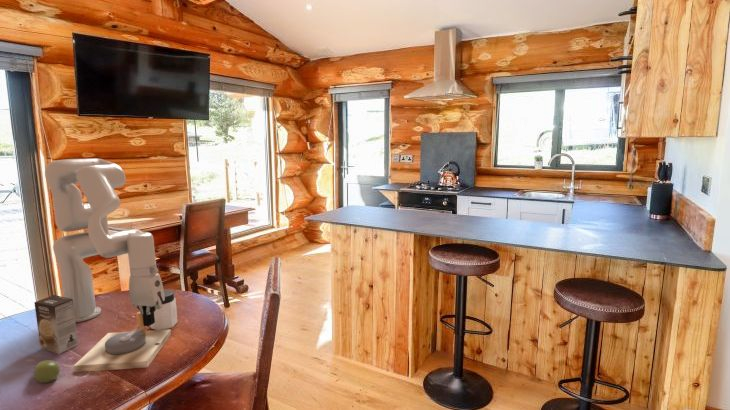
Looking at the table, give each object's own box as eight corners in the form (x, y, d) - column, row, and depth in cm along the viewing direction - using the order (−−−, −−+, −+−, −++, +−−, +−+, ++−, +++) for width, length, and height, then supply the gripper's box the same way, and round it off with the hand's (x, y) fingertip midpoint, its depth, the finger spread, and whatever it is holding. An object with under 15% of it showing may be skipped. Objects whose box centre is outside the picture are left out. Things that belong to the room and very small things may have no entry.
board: (74, 372, 117) (73, 364, 117) (108, 338, 137) (108, 332, 136) (147, 367, 119) (146, 360, 119) (171, 334, 139) (170, 328, 139)
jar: (151, 333, 140) (148, 300, 138) (148, 324, 147) (145, 292, 145) (179, 326, 145) (176, 294, 143) (175, 318, 152) (173, 287, 150)
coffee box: (39, 349, 130) (32, 302, 127) (60, 340, 136) (53, 294, 133) (59, 354, 127) (52, 305, 124) (79, 344, 133) (73, 298, 130)
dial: (130, 355, 122) (128, 332, 121) (96, 353, 123) (94, 331, 122) (160, 332, 136) (158, 311, 135) (129, 330, 137) (127, 310, 136)
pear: (35, 369, 109) (28, 361, 115) (38, 388, 109) (31, 379, 116) (60, 360, 113) (52, 353, 120) (63, 378, 113) (55, 371, 120)
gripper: (171, 268, 132) (176, 321, 135) (133, 266, 136) (139, 317, 139) (154, 276, 125) (160, 331, 128) (114, 273, 129) (121, 327, 132)
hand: (149, 324), depth 134 cm, fingers closed
